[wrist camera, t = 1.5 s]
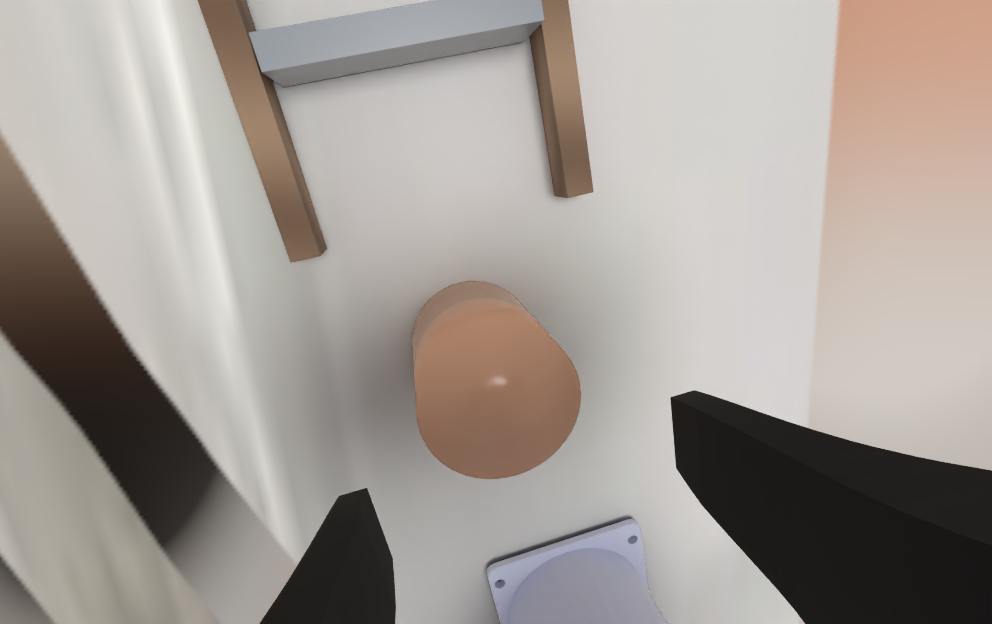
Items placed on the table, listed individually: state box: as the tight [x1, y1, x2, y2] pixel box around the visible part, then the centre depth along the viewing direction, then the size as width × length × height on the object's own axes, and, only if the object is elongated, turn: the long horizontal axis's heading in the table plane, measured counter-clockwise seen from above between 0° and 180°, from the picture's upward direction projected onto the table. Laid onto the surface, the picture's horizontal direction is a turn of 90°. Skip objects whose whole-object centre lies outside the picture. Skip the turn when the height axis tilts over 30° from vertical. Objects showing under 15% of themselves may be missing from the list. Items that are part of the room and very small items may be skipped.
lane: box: [198, 0, 593, 262], centre depth 15 cm, size 14×11×2 cm
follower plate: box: [249, 0, 544, 87], centre depth 15 cm, size 1×8×2 cm, turn 102°
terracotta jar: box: [412, 281, 581, 479], centre depth 17 cm, size 5×5×6 cm
